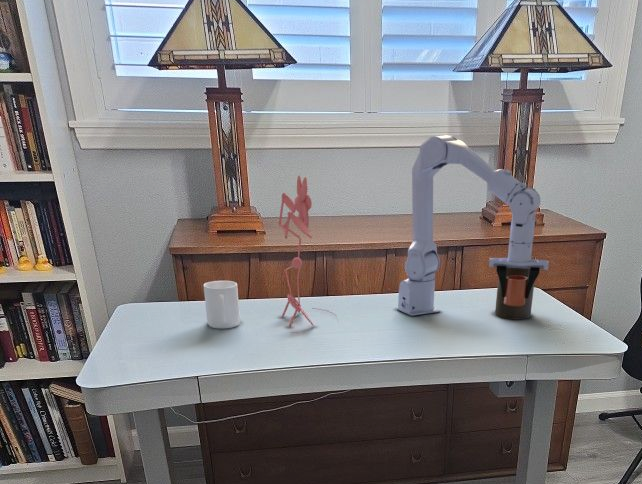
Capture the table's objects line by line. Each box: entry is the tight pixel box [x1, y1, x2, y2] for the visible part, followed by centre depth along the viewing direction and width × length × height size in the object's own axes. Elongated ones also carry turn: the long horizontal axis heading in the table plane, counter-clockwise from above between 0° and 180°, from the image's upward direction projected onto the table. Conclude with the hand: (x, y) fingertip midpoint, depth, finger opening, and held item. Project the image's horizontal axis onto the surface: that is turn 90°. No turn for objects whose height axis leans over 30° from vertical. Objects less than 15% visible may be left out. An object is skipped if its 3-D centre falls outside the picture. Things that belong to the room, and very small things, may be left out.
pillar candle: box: [494, 267, 535, 320], centre depth 188 cm, size 10×10×15 cm
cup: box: [203, 280, 241, 330], centre depth 176 cm, size 8×12×10 cm
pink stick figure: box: [278, 175, 339, 334], centre depth 176 cm, size 15×26×35 cm, turn 19°
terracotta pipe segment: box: [504, 275, 528, 306], centre depth 179 cm, size 5×6×6 cm
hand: (515, 296), depth 179 cm, fingers closed on terracotta pipe segment, 5 cm apart
